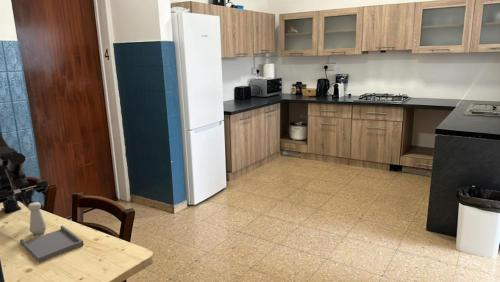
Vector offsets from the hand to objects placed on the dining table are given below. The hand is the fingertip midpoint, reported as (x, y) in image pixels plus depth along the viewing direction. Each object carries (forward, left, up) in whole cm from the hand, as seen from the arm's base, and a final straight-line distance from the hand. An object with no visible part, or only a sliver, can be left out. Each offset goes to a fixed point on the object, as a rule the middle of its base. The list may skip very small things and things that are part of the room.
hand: (30, 208), depth 149 cm
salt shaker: (+6, 0, -9) cm, 11 cm away
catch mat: (+19, 0, -9) cm, 21 cm away
